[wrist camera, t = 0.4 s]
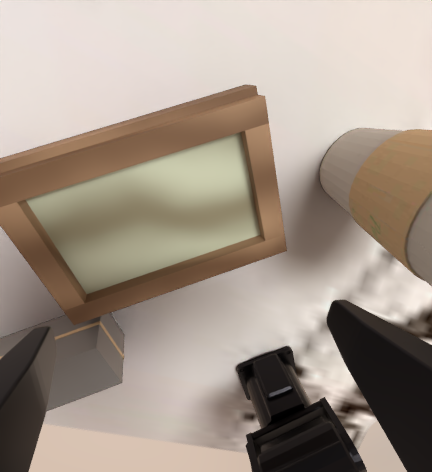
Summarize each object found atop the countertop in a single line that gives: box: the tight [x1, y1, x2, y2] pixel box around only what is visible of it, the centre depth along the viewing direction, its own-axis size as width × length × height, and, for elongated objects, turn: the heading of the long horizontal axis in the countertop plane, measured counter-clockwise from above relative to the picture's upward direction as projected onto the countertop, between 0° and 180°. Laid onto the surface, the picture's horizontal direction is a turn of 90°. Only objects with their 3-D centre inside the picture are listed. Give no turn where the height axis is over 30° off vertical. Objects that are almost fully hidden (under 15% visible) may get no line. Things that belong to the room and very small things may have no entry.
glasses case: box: [0, 313, 124, 411], centre depth 23 cm, size 4×10×5 cm, turn 105°
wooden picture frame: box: [0, 85, 287, 325], centre depth 20 cm, size 12×16×3 cm
